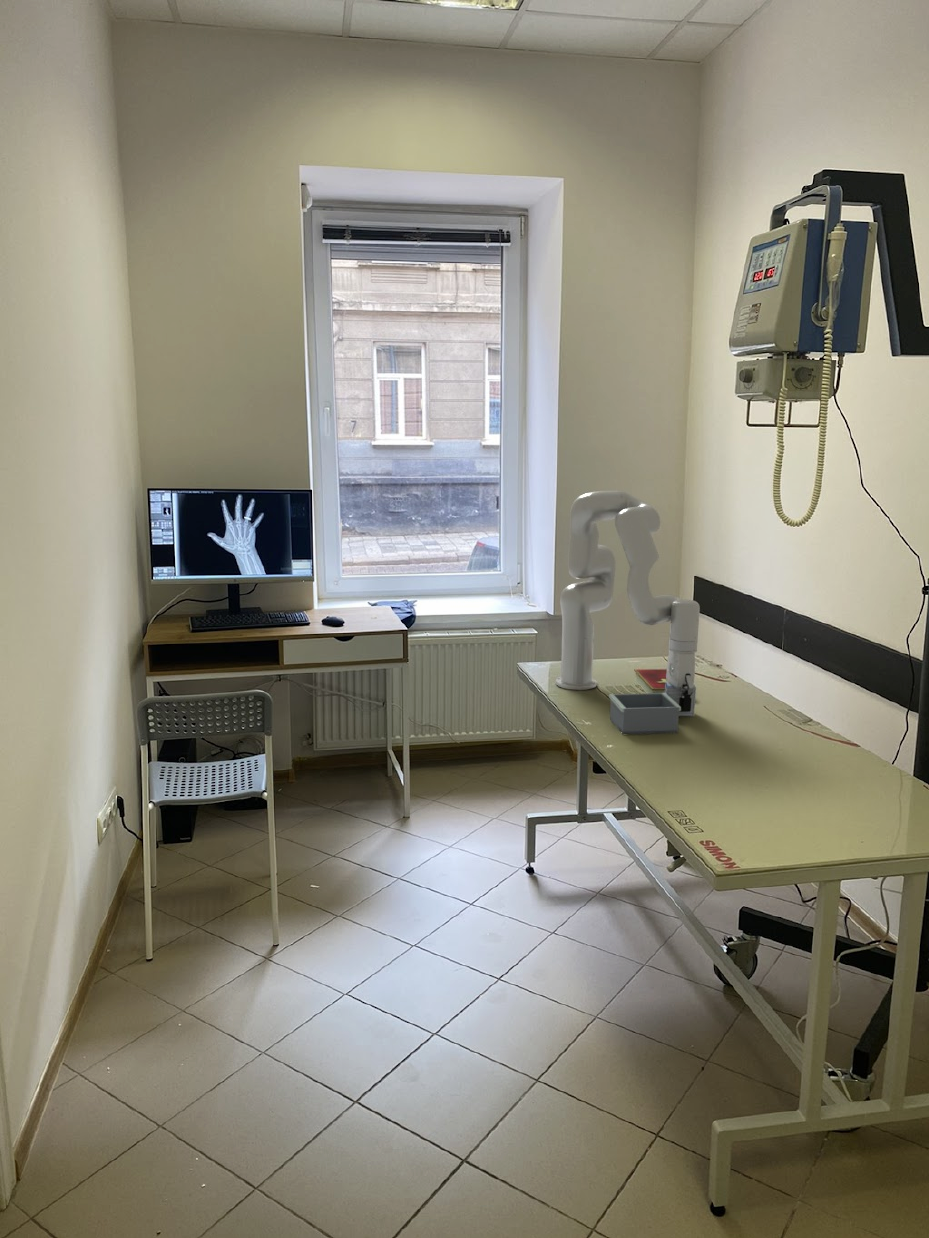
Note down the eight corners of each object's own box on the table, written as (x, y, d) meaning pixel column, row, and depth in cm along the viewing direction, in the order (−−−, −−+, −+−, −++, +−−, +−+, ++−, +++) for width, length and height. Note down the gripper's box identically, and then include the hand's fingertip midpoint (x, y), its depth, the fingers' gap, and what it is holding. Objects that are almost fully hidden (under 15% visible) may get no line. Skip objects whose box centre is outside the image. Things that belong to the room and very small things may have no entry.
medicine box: (691, 712, 255) (694, 682, 253) (694, 717, 251) (696, 687, 249) (663, 711, 256) (665, 681, 254) (665, 716, 251) (667, 685, 250)
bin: (608, 719, 248) (609, 694, 247) (663, 717, 250) (665, 692, 248) (621, 734, 236) (622, 708, 234) (679, 733, 238) (680, 707, 236)
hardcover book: (671, 680, 287) (671, 667, 286) (691, 701, 266) (692, 687, 265) (633, 681, 286) (634, 668, 285) (651, 701, 265) (652, 687, 264)
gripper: (659, 637, 257) (656, 697, 261) (680, 653, 240) (676, 717, 244) (685, 637, 258) (681, 696, 262) (708, 652, 241) (703, 716, 245)
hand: (679, 706), depth 253 cm, fingers open, 7 cm apart
